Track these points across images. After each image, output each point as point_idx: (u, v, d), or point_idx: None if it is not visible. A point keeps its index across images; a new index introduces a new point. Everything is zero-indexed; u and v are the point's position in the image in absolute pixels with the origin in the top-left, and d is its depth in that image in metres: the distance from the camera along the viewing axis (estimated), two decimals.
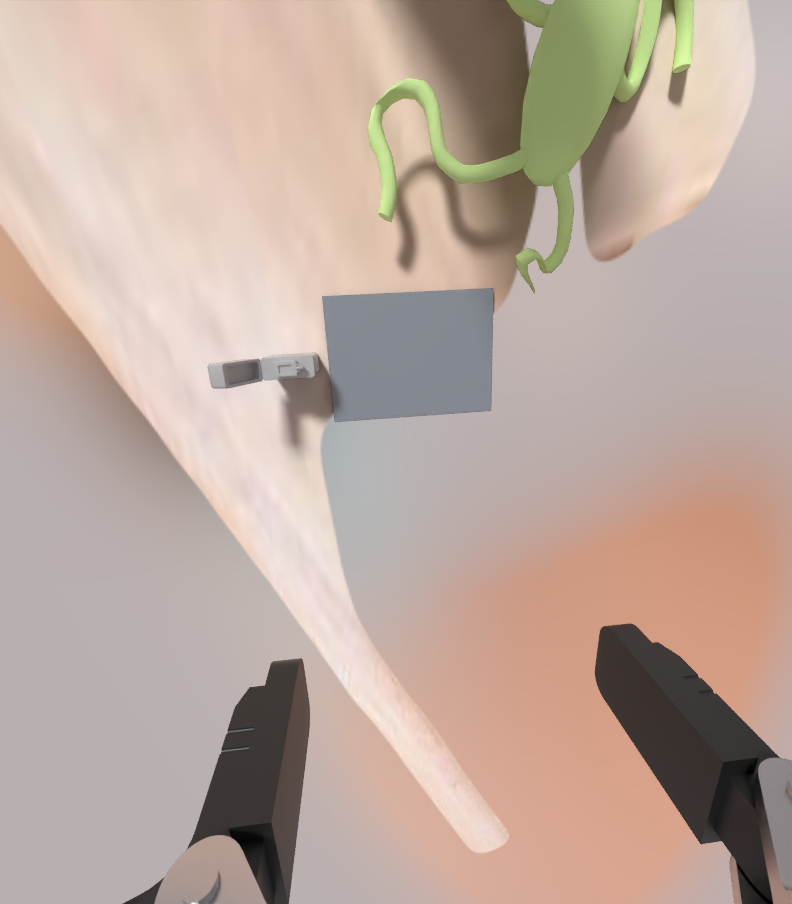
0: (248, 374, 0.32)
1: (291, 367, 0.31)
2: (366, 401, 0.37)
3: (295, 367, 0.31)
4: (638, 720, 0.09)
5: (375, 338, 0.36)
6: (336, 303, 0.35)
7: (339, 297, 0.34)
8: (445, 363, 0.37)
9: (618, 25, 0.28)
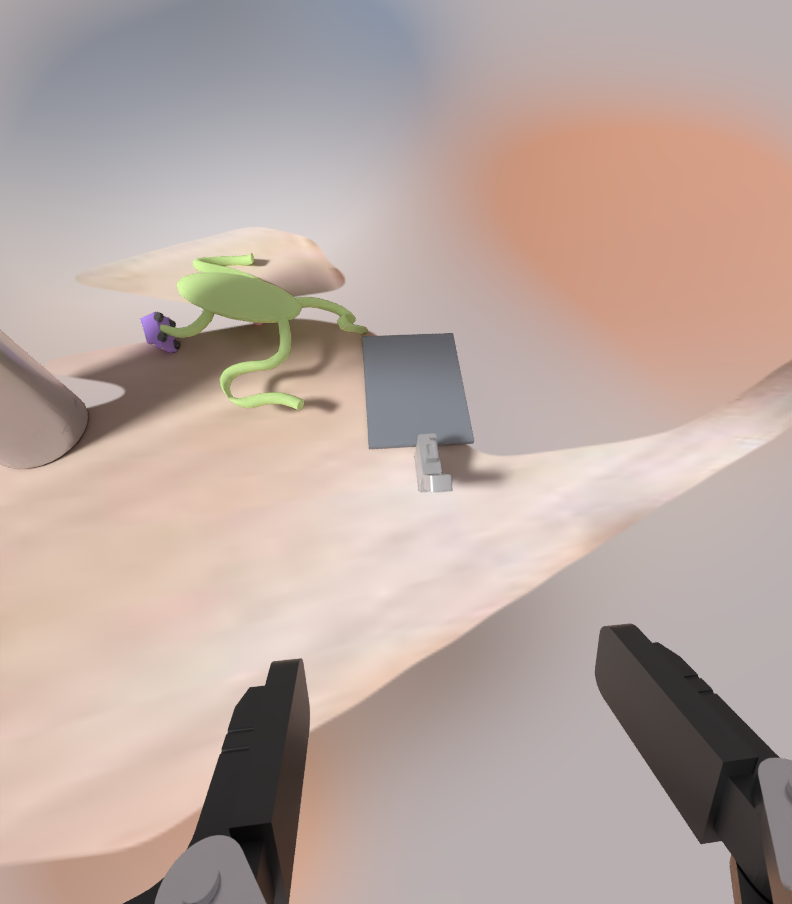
0: None
1: (429, 444, 0.36)
2: (453, 416, 0.43)
3: (428, 441, 0.36)
4: (638, 720, 0.09)
5: (401, 409, 0.43)
6: (374, 436, 0.42)
7: (369, 434, 0.42)
8: (418, 363, 0.46)
9: (224, 276, 0.47)
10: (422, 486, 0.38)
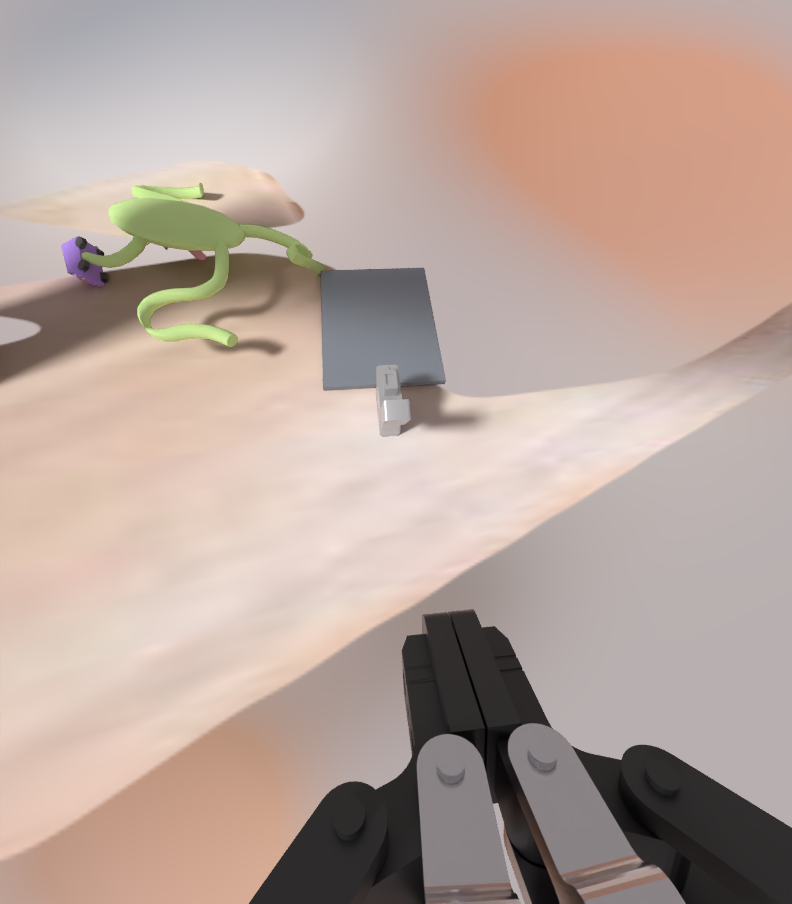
0: None
1: (387, 374, 0.31)
2: (422, 354, 0.38)
3: (387, 370, 0.31)
4: None
5: (362, 347, 0.38)
6: (329, 376, 0.36)
7: (324, 373, 0.36)
8: (383, 298, 0.41)
9: (161, 200, 0.41)
10: (383, 428, 0.33)
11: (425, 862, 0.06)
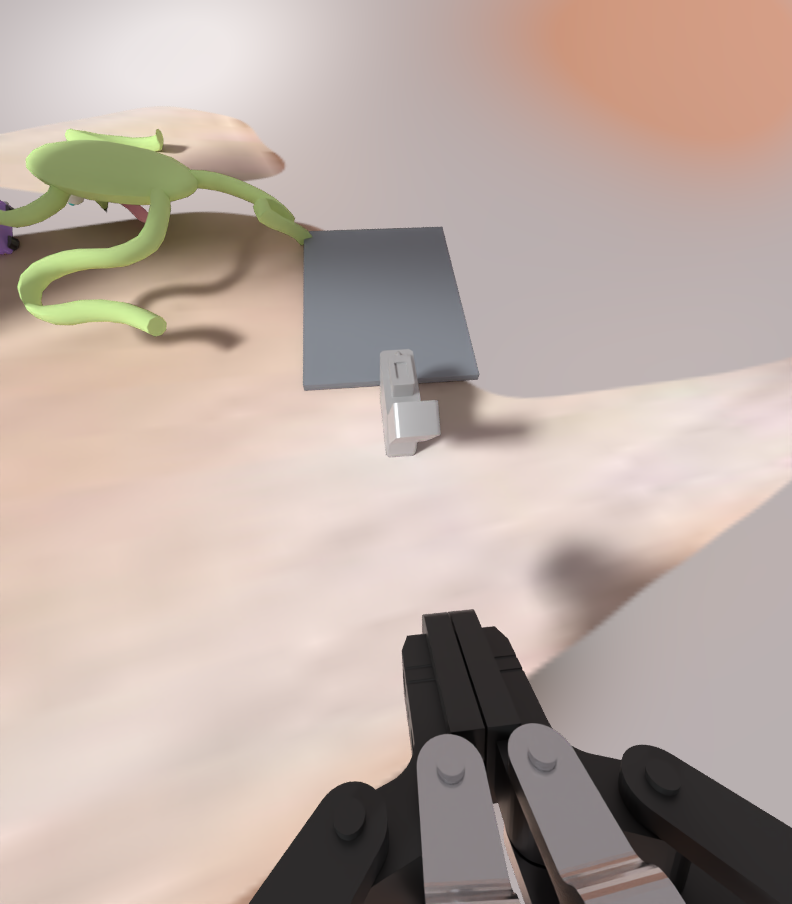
0: None
1: (398, 362, 0.20)
2: (444, 339, 0.27)
3: (397, 357, 0.20)
4: None
5: (359, 330, 0.27)
6: (313, 370, 0.25)
7: (305, 366, 0.25)
8: (388, 265, 0.30)
9: (92, 141, 0.30)
10: (390, 445, 0.22)
11: (425, 862, 0.06)
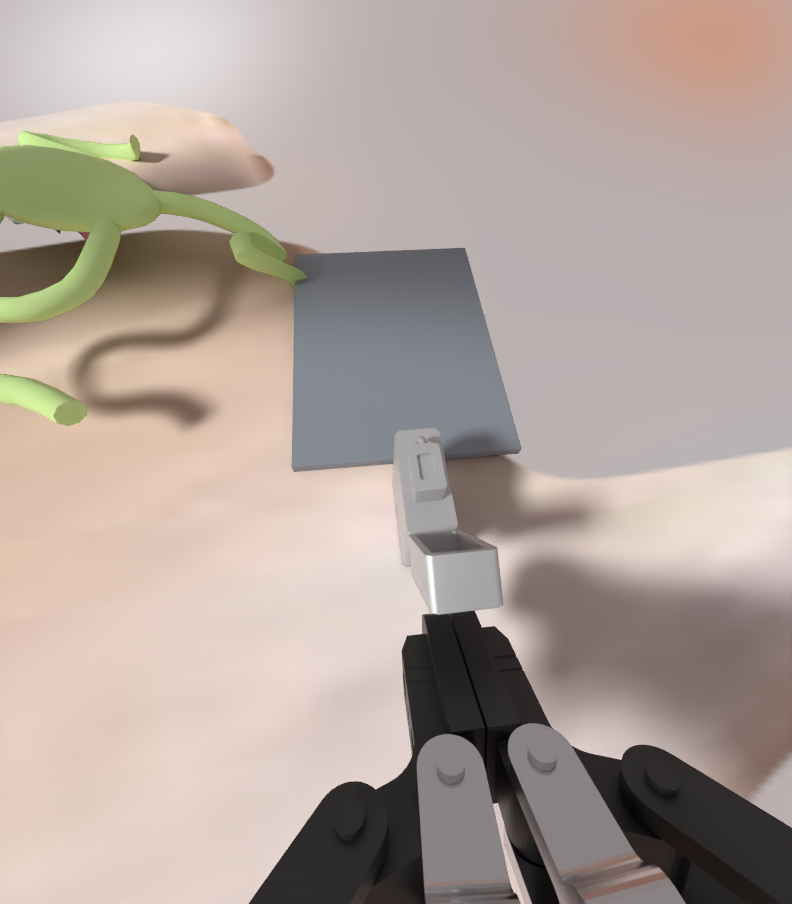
0: None
1: (422, 453, 0.14)
2: (474, 398, 0.21)
3: (420, 445, 0.14)
4: None
5: (364, 386, 0.21)
6: (305, 444, 0.19)
7: (295, 439, 0.19)
8: (400, 298, 0.24)
9: (38, 147, 0.24)
10: (410, 557, 0.16)
11: (425, 862, 0.06)
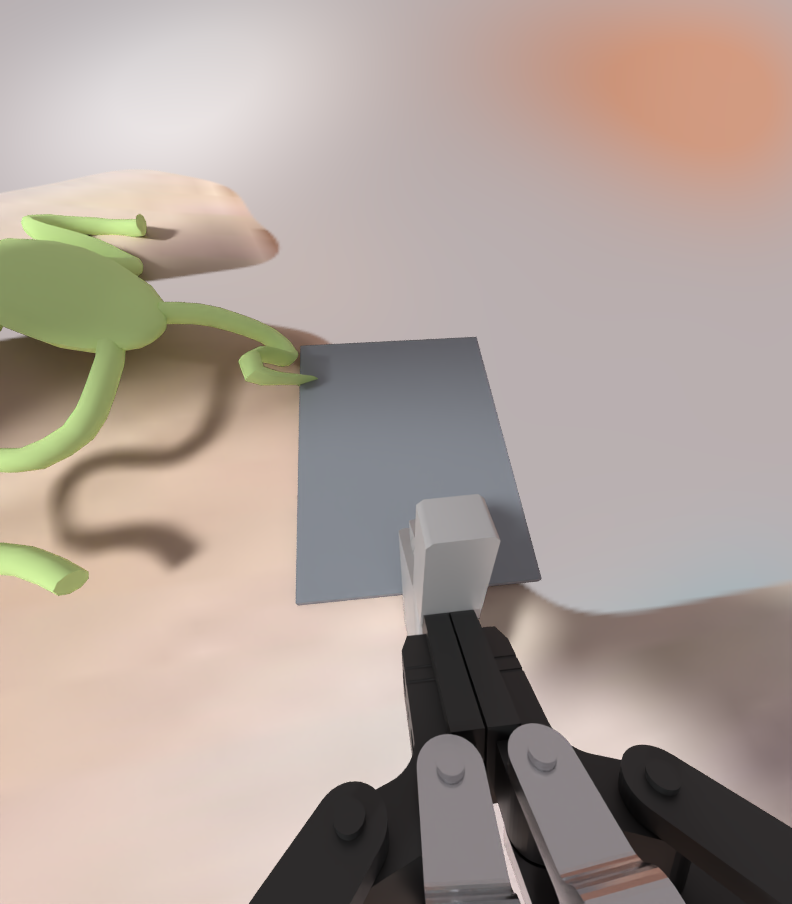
0: None
1: None
2: None
3: None
4: None
5: (373, 503, 0.20)
6: (310, 574, 0.18)
7: (299, 569, 0.18)
8: (410, 397, 0.23)
9: (41, 247, 0.23)
10: None
11: (426, 862, 0.06)
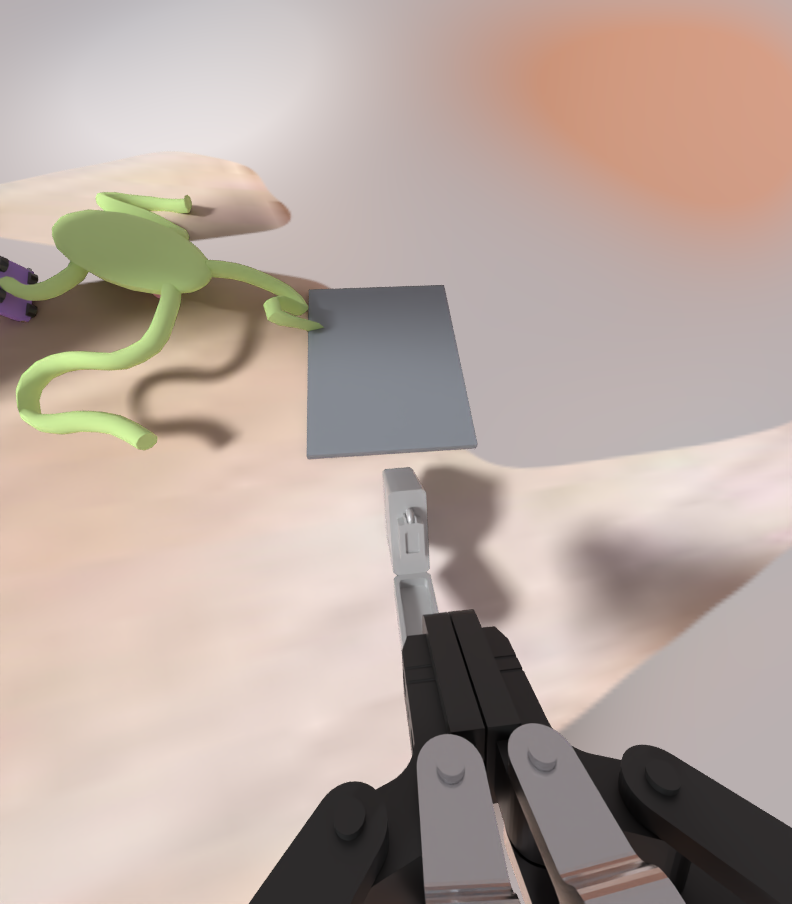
0: (419, 596, 0.19)
1: (409, 531, 0.18)
2: (444, 406, 0.27)
3: (408, 524, 0.18)
4: None
5: (361, 396, 0.28)
6: (316, 439, 0.26)
7: (309, 435, 0.26)
8: (391, 327, 0.31)
9: (116, 216, 0.30)
10: None
11: (425, 862, 0.06)
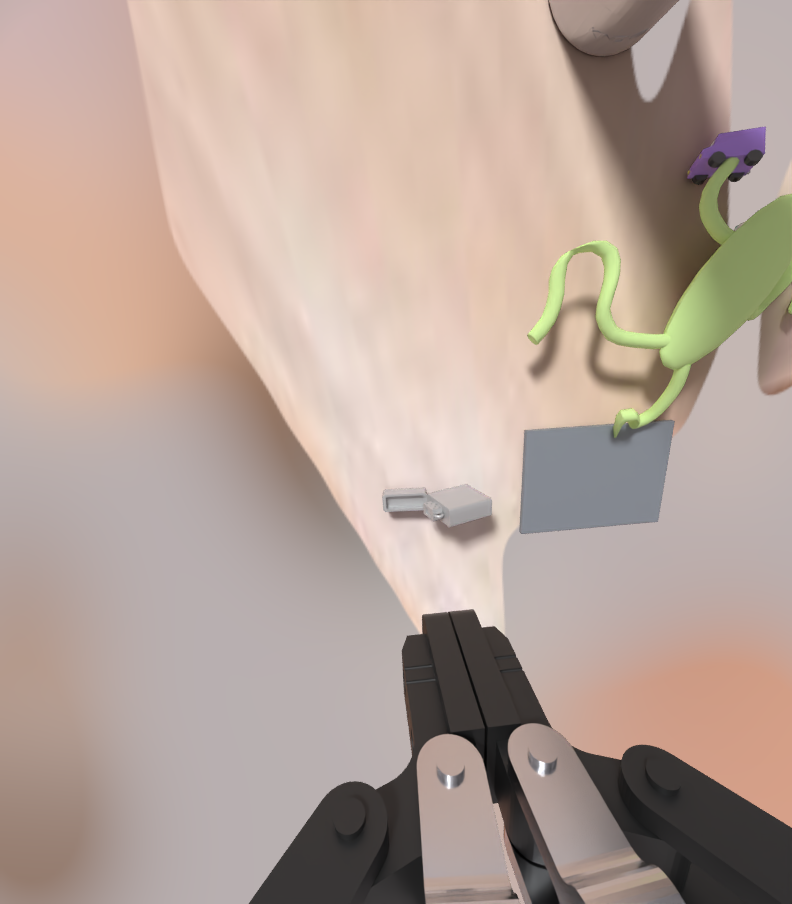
0: (417, 501, 0.38)
1: (431, 513, 0.35)
2: (551, 516, 0.41)
3: (433, 514, 0.35)
4: None
5: (567, 464, 0.40)
6: (538, 436, 0.39)
7: (541, 431, 0.39)
8: (624, 483, 0.41)
9: (775, 271, 0.32)
10: None
11: (425, 863, 0.06)
